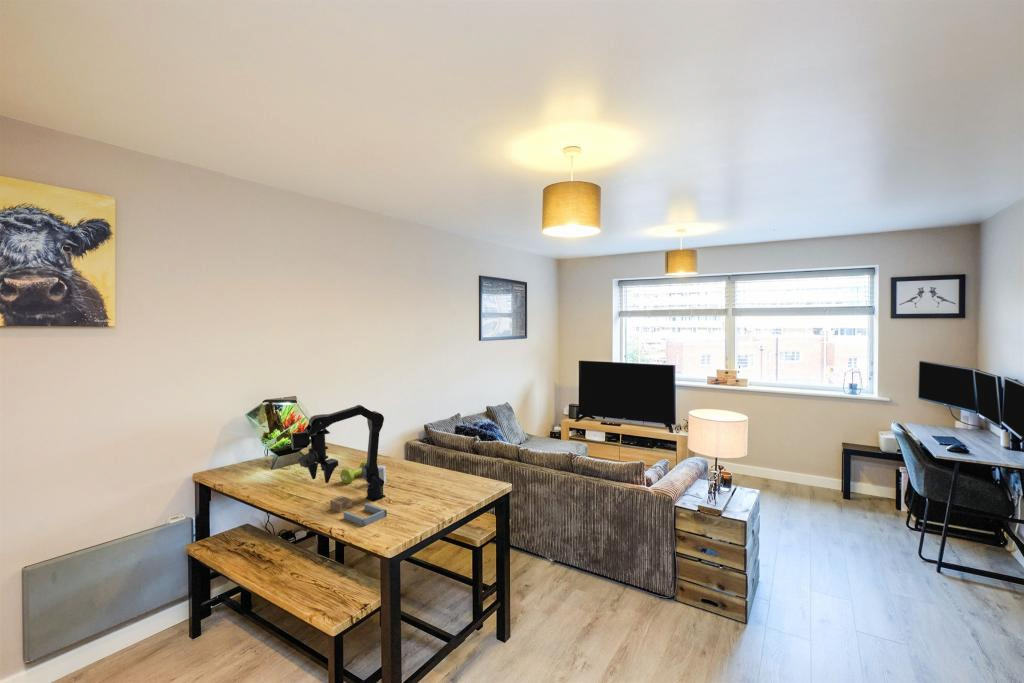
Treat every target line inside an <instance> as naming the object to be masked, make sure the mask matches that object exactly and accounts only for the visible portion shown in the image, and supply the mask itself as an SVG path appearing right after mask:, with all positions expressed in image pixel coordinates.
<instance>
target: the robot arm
mask: <svg viewBox="0 0 1024 683" xmlns="http://www.w3.org/2000/svg"><path fill="white" fill-rule="evenodd" d="M357 416H362V417H364V418H366V420H367V422H366V423H367V427H368V431H369V434H368V435H369V436H368V443H367V444H368V445H367V455H366V461H367V463H366V465H365V466H362V473H361V474H360V475H361V476H362V479H363V480H364V481H366V483H367V489H366V497H365V499H368V500H371V501H373V502H376V501H378V500H381V499H383V498H386V494H384V485H385V484H384V481H383V480H382V479H381V478H380V477H379V470H378V466H379V465H378V457H379V456H378V455H379V453H378V452H379V443H380V433H381V430H382V429H383V425H384V421H385V417H384V415H383V414H382V413H381V412H378V411H376V410H370V409H367V408H365V406H363V405H361V404H357V405H355V406H352V407H349V408H345V409H342V410H339V411H335V412H333V413H332V412H331V413H327V414H314V415H313V416H311V417H310V418H309V419H308V424H307V426H306V427H305V428H304V430H303V431H300V432H292V433H291V439H290V446H291V449H292V450H293V451H294V450H299V449H305V448H308V447H309V446H310V448H308V452H307V453H305V454H304V455H302V456H300V458H299V459H298V460H297V461H298V463H299V466H300V467H302V468H304V469H305V468H306V469H308V472H309V474H310V476H311V479H312V480H315V479H316V478H317V472H318V471H317V470H318V468H319V467H318V466H319V465H320V467H321V468H320V470H321V471H322V472H323V476H324V482H325V484H328V483H329V481H330V479H331V477H332V475H333V472H334V471H335V469H337V467H338V466H339V460H338V459H336V458H329V455H327V450H328V449H329V446H326V435H328V434H330V433H331V432H330V431H329V430H328V429H327V428H328V427H330V426H331V425H332V424H335V423H339V422H342V421H344V420H348V419H351V418H354V417H357ZM368 483H369V485H368Z"/></svg>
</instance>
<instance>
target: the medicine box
mask: <svg viewBox="0 0 1024 683" xmlns="http://www.w3.org/2000/svg"><path fill="white" fill-rule="evenodd" d="M377 466H378V470H379V477H380V478H381V479H382V480H383V481H384V485H386V483H387V474H386V473H387V472H386V471H387V469H386V465H377ZM368 485H369V483H367V486H368Z"/></svg>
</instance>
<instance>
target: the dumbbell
mask: <svg viewBox="0 0 1024 683" xmlns="http://www.w3.org/2000/svg"><path fill="white" fill-rule="evenodd" d="M366 463H367V460H366V461H362V462H360V464H359V467H358V468H356V469H353V470H352V469H351V468H343V469H342V470H341V472H340V474H339V477H340V479H341V483H344V484H345V485H349V484H351V483H352V482H353V481H354V478H355V477H356V476H359V475H361V473H362V466H365V465H366Z"/></svg>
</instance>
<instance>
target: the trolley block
mask: <svg viewBox="0 0 1024 683" xmlns="http://www.w3.org/2000/svg"><path fill="white" fill-rule="evenodd" d="M329 502H330V504H329V505H330V506H329V507H330V508H329V509H330V510H332V511H335V512H338V513H344V512H346V511H348V510H350V509H353V498H350V497H346V496H344V495H341V496H338V497H335V498H333V499H330V501H329Z"/></svg>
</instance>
